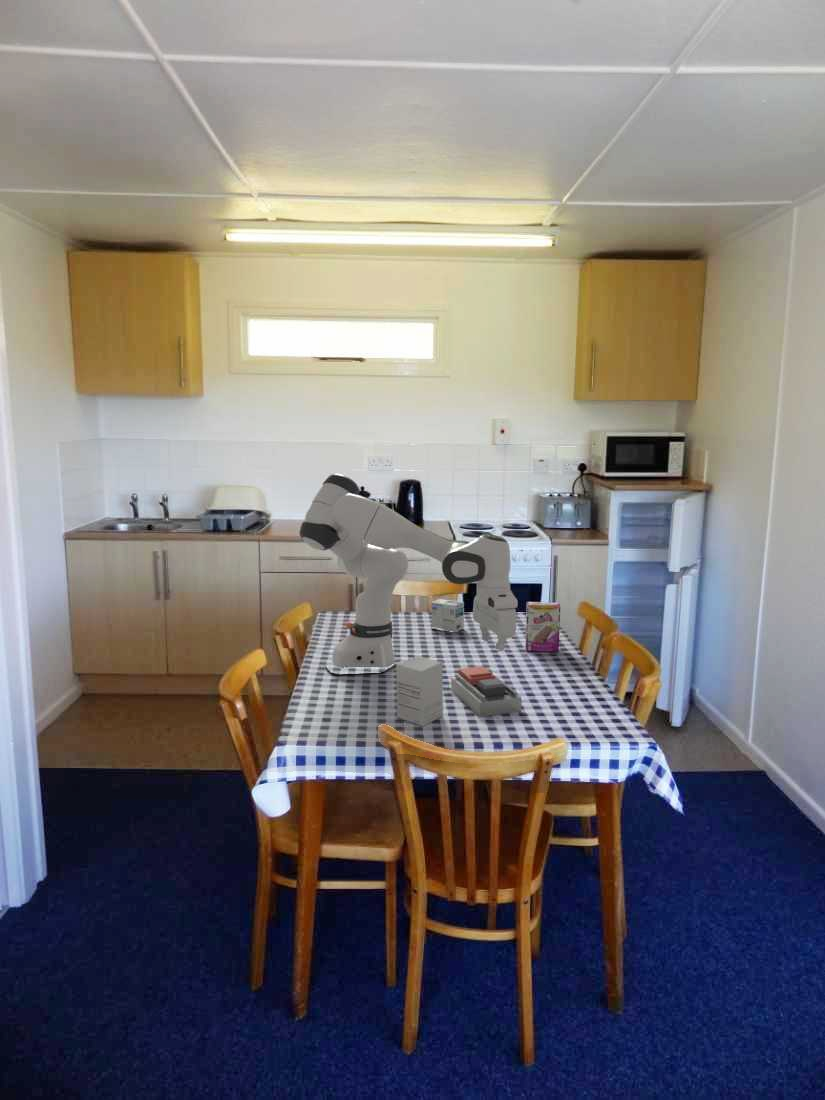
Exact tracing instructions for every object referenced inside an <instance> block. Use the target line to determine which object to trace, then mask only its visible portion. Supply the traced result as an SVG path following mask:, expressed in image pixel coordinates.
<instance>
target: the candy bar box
mask: <svg viewBox="0 0 825 1100" xmlns="http://www.w3.org/2000/svg"><path fill="white" fill-rule="evenodd" d="M525 613H526V615H525V617H526V618H525V643H524V645H525V646H524V647H525V651H526V652H528V653H529V652H532V653H533V652H534V653H559V648H560V647H559V646H560V627H561V623H560V622H561V618H560V617H561V604H560V603H559V602H545V601H541V602H540V601H527V602H526V612H525Z"/></svg>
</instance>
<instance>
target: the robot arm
mask: <svg viewBox="0 0 825 1100" xmlns="http://www.w3.org/2000/svg"><path fill="white" fill-rule="evenodd" d="M299 536H300V538H301V540H302V541H303V542H304V543H305V544H306V545H307V546H308V547H310V548H312V549H316V550H319V551H327V550H329V551H330V552H331V553H333V554H334V555H335V556H336V557H337V565H338V568H339V570H340V571H341V572H344V573H345V574H347V575H349V576H352V577H355V578H359V579H366V587H365V590H364V591H362V592H361V593H359V594H357V595H356V598H355V622H353V623H352V622H351V621H347V622H346V623H345V627H346V628H347V629H348V630H349V634H348V635H347V636H346V637H345V638H343V639H342V640H341V641H339V642H338V643H337V644H336V645H335V646H334V648H333V651H332V652H333V653H332V657H331V659H332V662H333V664H334V665H336V666H337V667H341V668H344V667H346V668H348V667H388V666H390V665H392V664H394V663H395V661H396V658H395V654H394V649H393V640H392V639H393V634H394V633H393V621H392V620H391V618H392V617H391V613H392V612H391V611H392V610H391V609H392V605H391V604H392V596H393V593H394V590H395V588H396V586H397V584H398V583H399V582H400V581H402V580H403V579H404V578H405V577H406V575H407V573H408V571H409V570H408V569H409V561H408V560H409V559H408V557H407V555H406V553H404V551H402V550H399V549H402V548H403V549H404V548H405V549H410V550H413V551H417V552H419V553H420V554H424V555H426V556H429V557H431V558H433V559H434V560H437V561H438V562H440V563H441V571H442V574H443V576H444V577H445V578H446V580H447V581H449V582H450V583H452V584H454V585H464V584H471V583H476V595H475V596H474V598H473V606H472V607H473V608H472V617H473V620H474V621H475V622H476V623H477V624H479V629H480V633H481V640H482V641H484V642H488V641H490V639H491V638H490V636H491V634H490V632H489V631H491V632H492V633H494V634H495V635H496V636H497V642H495V646H496V647H495V649H496V650H497V651H499V652H502V651H504V650H505V644H506V642H507V639H508V638H514V636H515V634H516V629H517V612H516V611H517V610H516V608H518V599H517V598H516V596H515V595H514V593H513V591H512V590H511V581H510V577H509V575H510V571H511V550H510V545H509V542H508V541H507V540H506V539H505V538H504V537H502V536H499V535H496V534H484V533H483V534H481V535H480V536H478V537H477V538H476V539H474V540H472V541H471V542H469V541H467V540H462V539H461V540H458V539H455V540H454V539H453V540H452V539H447V538H445V537H443V536H440V535H438V534H436V533H433V532H431V531H429V530H427V529H424V528H423V527H420V526H419V525H416V524H415V523H413V522H411V520H409V519H407V518H405V517H404V516H403V515H401V514H399V513H398V512H397V511H395V510H393V509H391V508H390V507H388V506H386V505H384V504H382V503H380V502H377V501H375V500H373V499H370V498H368V497H365V496H362V495H360V488H359V486H358V484H357V483H356V482H355V481H354V480H353V479H351V478H350V477H348V476H346V475H343V474H340V473H334V474H330V475H329V476H328V477H327V478H326V479H325V480H324V481H323V482H322V486H321V488H320V489H319V490H318V491H317V493H316V494H315V497H313V500H312V502H311V504H310V506H309V509H308V510H307V512H306V513H305V517H304V520H303V522H302V523H301V526H300V528H299Z"/></svg>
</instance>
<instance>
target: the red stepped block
mask: <svg viewBox="0 0 825 1100" xmlns="http://www.w3.org/2000/svg"><path fill="white" fill-rule="evenodd" d="M458 674H459V675H460V676H462V677H463V678H464V679H465V680H466V681H468V682H469V683H470V684H471V685H477V684H478V683H479V680H487V679H495V676H496V675H495V674H494V673H492V672H491V671H489V670H488V669H487V668H485V667H484V666H483V665H481V666H473V667H464V668H463V667H462V668H458Z"/></svg>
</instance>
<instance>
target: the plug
mask: <svg viewBox="0 0 825 1100" xmlns="http://www.w3.org/2000/svg"><path fill="white" fill-rule="evenodd" d="M502 682H503V681H502ZM502 682H500V681H499V680H498V679H496V678H495V679H487V680H479V683H478V684H477V690H478V691H479V692H481V693H482V694H483V695H484V696H485V697H486V698H487V697H495V696H503V695H505V687H504V686H503V683H502Z"/></svg>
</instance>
